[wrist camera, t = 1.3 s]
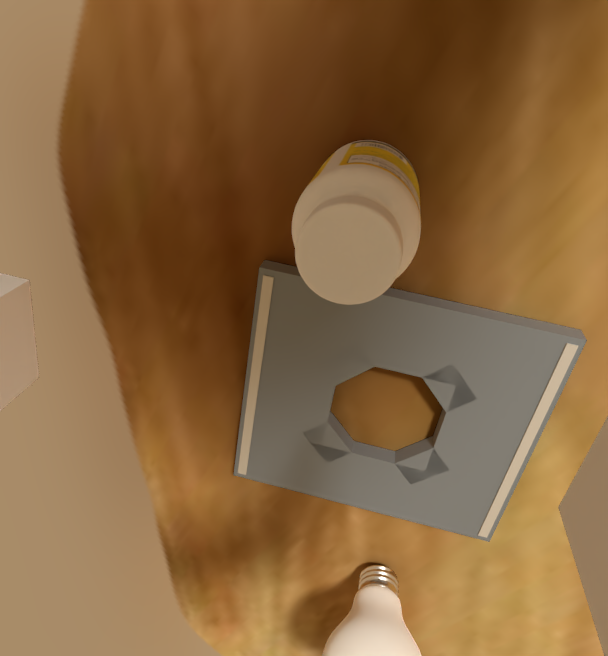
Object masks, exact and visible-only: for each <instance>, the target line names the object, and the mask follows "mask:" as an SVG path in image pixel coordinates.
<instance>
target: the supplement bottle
mask: <svg viewBox="0 0 608 656" xmlns="http://www.w3.org/2000/svg"><path fill="white" fill-rule="evenodd" d="M420 234H421V213H420V191H419V182H418V179H417V175H416V173H415V170H414V168H413V167H412V165H411V163H410V162H409V160H408V159H407V158H406V156H405V155H404V154H402V153H401V152H400V151H399V150H398V149H396V148H395V147H393V146H391V145H389V144H387V143H384V142H380V141H375V140H360V141H355V142H352V143H349V144H347V145H344V146H343V147H341V148H339V149H338V150H336V151H335V152H334V153H333V154H332V155H330V156H329V158H328V159H327V160H326V161H325V162H324V163H323V165H322V166H321V168H320V169H319V170H318V172H317V173H316V175H315V176H314V177H313V179H312V180H311V181H310V183H309V184H308V185H307V187H306V188H305V190H304V191H303V193H302V194H301V196H300V198H299V200H298V202H297V204H296V207H295V210H294V213H293V218H292V238H293V243H294V247H295V260H296V264H297V268H298V271H299V273H300V275H301V277H302V279H303V280H304V282H305V283H306V284H307V286H308V287H309V288H310V289H311V290H312V291H314V292H315V293H316V294H318V295H319V296H321V297H322V298H324V299H326V300H328V301H331V302H334V303H338V304H346V305H353V304H361V303H365V302H368V301H371V300H373V299H375V298H377V297H379V296H380V295H382V294H383V293H384V292H385V291H386V290H387V289H388V288H389V287H390V286H391V285H392V283H393V282H394V281H395V279H396V278H397V277H399V276H400V275H401V274H402V273H403V272H404V271H405V270H406V269H407V267H408V266H409V265H410V263H411V261H412V260H413V258H414V256H415V254H416V251H417V248H418V245H419V240H420Z"/></svg>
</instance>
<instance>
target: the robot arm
mask: <svg viewBox="0 0 608 656" xmlns="http://www.w3.org/2000/svg"><path fill="white" fill-rule="evenodd" d="M38 378H39V371H38V359H37V350H36V340H35V329H34V319H33V309H32V299H31V289H30V280H28V279H24V278H20V277H16V276H11V275H7V274H2V273H0V411H1V410H2V409H3V408H5V407H6V406H7V405H8V404H9V403H10V402H11V401H13V400H14V399H15V398H16V397H17V396H18V395H20V394H21V393H22V392H23V391H24V390H25V389H26V388H28V387H29V386H30V385H31V384H32V383H33V382H35V381H36V380H37V379H38ZM558 508H559V511H560V514H561V517H562V521H563V524H564V527H565V530H566V533H567V537H568V540H569V543H570V546H571V550H572V553H573V556H574V559H575V562H576V566H577V569H578V572H579V575H580V579H581V582H582V585H583V588H584V592H585V595H586V598H587V601H588V604H589V608H590V611H591V614H592V617H593V621H594V624H595V627H596V630H597V633H598V637H599V640H600V643H601V646H602V650H603V653H604V656H608V417H607V419H606V420H605V422H604V424H603V426H602V428H601V430H600V431H599V433H598V435H597V437H596V439H595V441H594V443H593V444H592V446H591V448H590V450H589V452H588V454H587V455H586V457H585V459H584V461H583V463H582V465H581V466H580V468H579V470H578V472H577V474H576V476H575V477H574V479H573V481H572V483H571V485H570V487H569V488H568V490H567V492H566V494H565V496H564V498H563V499H562V501H561V503H560V505H559V507H558Z"/></svg>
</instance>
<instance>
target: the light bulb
mask: <svg viewBox="0 0 608 656" xmlns="http://www.w3.org/2000/svg"><path fill="white" fill-rule="evenodd" d="M358 590H359V591H358V592H357V593H356V595H355V597H354V601H353V605H352V608H351V610H350V612H349V613H348V615H347V616H346V617H345V618H344V619H343V620H342V622H341V623H340V624H339V625H338V626H337V627H336V628H335V629H334V631H333V632H332V633H331V635H330V636H329V638H328V640H327V642H326V644H325V647H324V651H323V654H322V656H421V653H420V650H419V648H418V646H417V644H416V643H415V641H414V639H413V637H412V635H411V634H410V632H409V630H408V629H407V627H406V625H405V623H404V620H403V618H402V612H401V604H400V600H399V596H398V593H399V582H398V580H397V576H396V574H395V572H394V571H393V570H392V569H390V568H389V567H386V566H382V565H371V566H368V567H366V568H365V569H363V570H362V571H361V573H360V575H359V585H358Z"/></svg>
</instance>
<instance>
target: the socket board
mask: <svg viewBox="0 0 608 656" xmlns="http://www.w3.org/2000/svg"><path fill="white" fill-rule="evenodd" d="M586 341H587V340H586V338H585V336H584V335H583V333H582V331H581V330H579V329H575V328H570V327H566V326H561V325H556V324H552V323H547V322H543V321H538V320H534V319H529V318H525V317H520V316H516V315H511V314H507V313H502V312H498V311H493V310H489V309H484V308H480V307H475V306H471V305H466V304H462V303H457V302H453V301H448V300H444V299H439V298H435V297H430V296H426V295H421V294H417V293H412V292H408V291H403V290H399V289H394V288H390V287H389V288H388V289H387V290H386V291H385V292H384V293H383V294H382V295H380V296H379V297H377V298H375V299H373V300H371V301H368V302H365V303H361V304H353V305H346V304H338V303H334V302H331V301H328V300H326V299H324V298H322V297H321V296H319V295H318V294H316V293H315V292H314V291H312V290H311V289H310V288H309V287H308V286H307V284H306V283H305V282H304V280H303V279H302V277H301V275H300V273H299V271H298V268H297V267H295V266H290V265H286V264H281V263H277V262H272V261H268V260H264V262H263V263H262V264H261V266H260V267H259V274H258V282H257V290H256V298H255V306H254V314H253V322H252V330H251V338H250V346H249V354H248V362H247V371H246V379H245V387H244V395H243V403H242V411H241V419H240V427H239V435H238V443H237V451H236V459H235V467H234V475H235V476H239V477H243V478H247V479H251V480H254V481H258V482H262V483H266V484H270V485H274V486H277V487H281V488H285V489H289V490H293V491H297V492H300V493H304V494H308V495H312V496H316V497H320V498H323V499H327V500H331V501H335V502H339V503H343V504H346V505H350V506H354V507H358V508H362V509H366V510H369V511H373V512H377V513H381V514H385V515H389V516H392V517H396V518H400V519H404V520H408V521H412V522H416V523H419V524H423V525H427V526H431V527H435V528H439V529H442V530H446V531H450V532H454V533H458V534H462V535H465V536H469V537H473V538H477V539H481V540H485V541H488V542H489V541H490V539H491V537H492V535H493V533H494V531H495V529H496V527H497V525H498V523H499V521H500V519H501V517H502V515H503V512H504V510H505V508H506V506H507V504H508V502H509V500H510V498H511V496H512V494H513V492H514V490H515V488H516V486H517V484H518V482H519V479H520V477H521V475H522V473H523V471H524V469H525V467H526V465H527V463H528V461H529V459H530V457H531V455H532V453H533V451H534V448H535V446H536V444H537V442H538V440H539V438H540V436H541V434H542V432H543V430H544V428H545V426H546V424H547V422H548V420H549V417H550V415H551V413H552V411H553V409H554V407H555V405H556V403H557V401H558V399H559V397H560V395H561V393H562V391H563V389H564V386H565V384H566V382H567V380H568V378H569V376H570V374H571V372H572V370H573V368H574V366H575V364H576V362H577V360H578V358H579V355H580V353H581V351H582V349H583V347H584V345H585V343H586ZM373 367H379V368H383V369H387V370H391V371H396V372H400V373H404V374H408V375H413V376H417V377H421V378H423V380H424V381H425V383H426V384H427V386H428V387H429V388H430V390H431V391H432V393H433V394H434V396H435V397H436V398H437V400H438V401H439V403H440V404H441V406H442V407H443V409H442V412H441V415H440V418H439V421H438V423H437V426H436V429H435V432H434V435H433V436H431V437H429V438H426V439H424V440H422V441H419V442H417V443H414V444H412V445H409V446H407V447H405V448H402V449H400V450H397V451H392V450H388V449H384V448H380V447H376V446H372V445H368V444H364V443H360V442H356V441H353V439H352V438H351V437H350V435H349V434H348V433H347V432H346V430H345V429H344V428H343V426H342V425H341V424H340V423H339V421H338V420H337V419H336V417H335V416H334V415H333V414H332V412H331V411H330V409H331V404H332V400H333V395H334V391H335V387H336V385H338V384H340V383H342V382H344V381H346V380H348V379H350V378H352V377H355V376H357V375H359V374H361V373H363V372H365V371H367V370H369V369H371V368H373Z"/></svg>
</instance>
